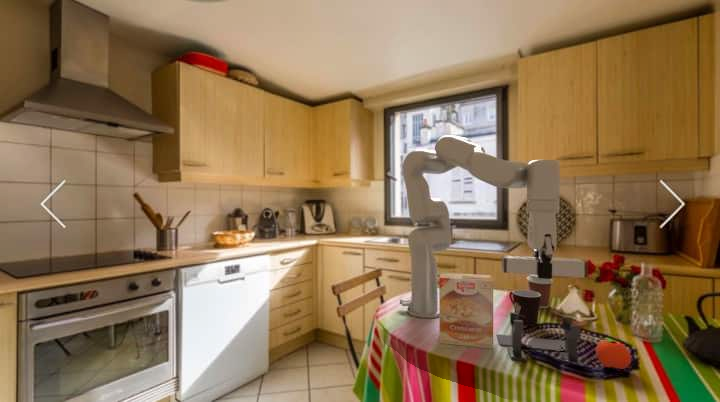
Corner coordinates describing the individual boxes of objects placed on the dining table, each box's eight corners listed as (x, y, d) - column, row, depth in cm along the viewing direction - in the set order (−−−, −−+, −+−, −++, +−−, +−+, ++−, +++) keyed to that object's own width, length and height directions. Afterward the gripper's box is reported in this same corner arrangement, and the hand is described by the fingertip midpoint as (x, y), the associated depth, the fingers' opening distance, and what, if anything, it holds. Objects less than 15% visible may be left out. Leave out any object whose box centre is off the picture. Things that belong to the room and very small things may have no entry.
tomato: (585, 360, 85) (585, 333, 85) (610, 359, 86) (610, 332, 86) (611, 377, 77) (611, 347, 77) (638, 375, 78) (639, 345, 78)
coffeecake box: (439, 343, 96) (438, 277, 95) (439, 333, 103) (439, 271, 102) (494, 349, 92) (493, 280, 91) (491, 338, 99) (490, 274, 98)
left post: (511, 360, 86) (511, 320, 85) (507, 348, 92) (507, 312, 92) (526, 361, 85) (526, 321, 85) (521, 350, 91) (521, 313, 91)
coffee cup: (530, 308, 125) (530, 277, 125) (524, 300, 134) (523, 271, 134) (556, 310, 123) (556, 278, 123) (548, 302, 132) (548, 272, 131)
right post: (567, 366, 82) (567, 325, 82) (559, 354, 88) (559, 316, 88) (584, 368, 81) (584, 326, 81) (574, 355, 88) (574, 317, 87)
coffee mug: (544, 328, 106) (544, 297, 106) (516, 326, 107) (516, 296, 107) (533, 315, 117) (533, 287, 117) (507, 314, 119) (507, 286, 119)
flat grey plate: (499, 345, 94) (499, 344, 94) (496, 335, 101) (496, 334, 101) (579, 353, 89) (579, 352, 89) (570, 342, 95) (570, 341, 95)
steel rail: (503, 273, 87) (503, 258, 87) (501, 269, 91) (501, 255, 91) (587, 277, 82) (587, 261, 82) (581, 274, 86) (581, 258, 86)
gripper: (520, 205, 95) (520, 268, 96) (534, 208, 79) (534, 283, 79) (549, 205, 93) (548, 269, 94) (570, 208, 77) (569, 285, 77)
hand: (542, 275), depth 86 cm, fingers closed on steel rail, 4 cm apart
